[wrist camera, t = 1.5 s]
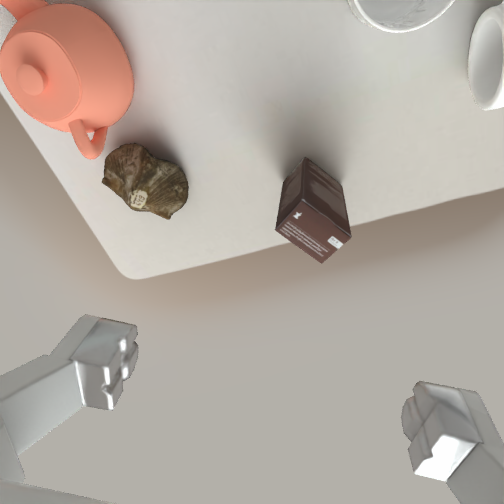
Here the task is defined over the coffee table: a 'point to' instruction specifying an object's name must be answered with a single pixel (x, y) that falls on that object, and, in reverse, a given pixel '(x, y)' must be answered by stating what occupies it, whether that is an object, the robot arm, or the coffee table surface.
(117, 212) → the coffee table surface
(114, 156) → the fossilized seashell
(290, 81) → the coffee table surface
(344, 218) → the box
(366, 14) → the white cup
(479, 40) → the mug
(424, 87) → the coffee table surface
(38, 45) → the teapot
